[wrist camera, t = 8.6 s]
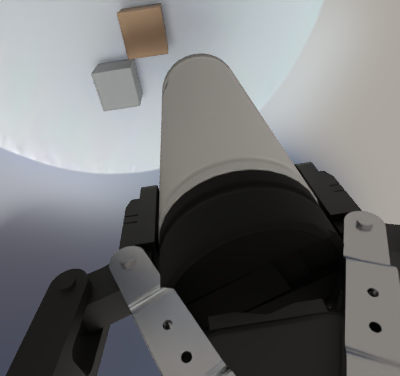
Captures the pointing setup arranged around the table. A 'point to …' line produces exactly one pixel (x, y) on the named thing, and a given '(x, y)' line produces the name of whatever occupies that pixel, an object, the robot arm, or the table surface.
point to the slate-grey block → (117, 84)
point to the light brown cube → (143, 31)
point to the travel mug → (234, 203)
